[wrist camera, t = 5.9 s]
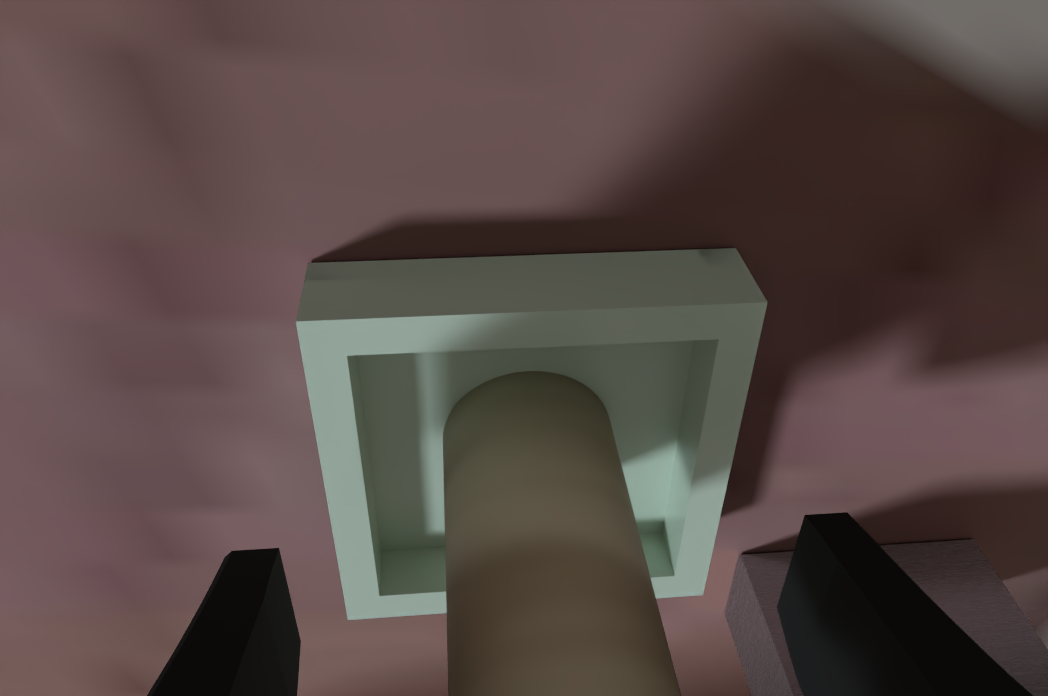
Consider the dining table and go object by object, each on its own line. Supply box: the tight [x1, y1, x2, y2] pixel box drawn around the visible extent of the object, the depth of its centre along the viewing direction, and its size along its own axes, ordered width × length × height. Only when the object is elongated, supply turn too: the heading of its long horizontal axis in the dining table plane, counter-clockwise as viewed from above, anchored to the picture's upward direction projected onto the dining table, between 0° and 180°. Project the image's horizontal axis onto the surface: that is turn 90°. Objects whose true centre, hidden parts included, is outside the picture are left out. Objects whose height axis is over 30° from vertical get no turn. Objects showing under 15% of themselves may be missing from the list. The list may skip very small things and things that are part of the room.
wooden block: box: [725, 539, 1048, 696], centre depth 17 cm, size 2×5×4 cm, turn 89°
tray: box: [296, 248, 768, 620], centre depth 14 cm, size 6×6×2 cm
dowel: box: [443, 371, 681, 696], centre depth 11 cm, size 3×3×7 cm
